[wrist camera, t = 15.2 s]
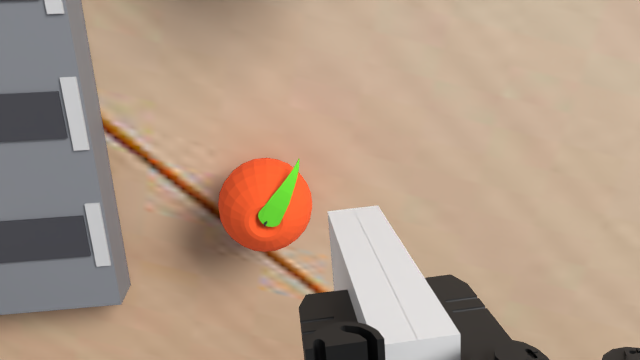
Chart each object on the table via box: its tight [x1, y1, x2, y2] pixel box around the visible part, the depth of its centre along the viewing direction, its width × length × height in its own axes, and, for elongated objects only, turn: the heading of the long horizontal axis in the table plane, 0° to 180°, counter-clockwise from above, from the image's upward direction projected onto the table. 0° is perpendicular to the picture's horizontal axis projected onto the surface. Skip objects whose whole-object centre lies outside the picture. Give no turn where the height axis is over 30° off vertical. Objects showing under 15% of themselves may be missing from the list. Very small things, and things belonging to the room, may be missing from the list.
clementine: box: [218, 158, 312, 252], centre depth 37 cm, size 8×7×7 cm
